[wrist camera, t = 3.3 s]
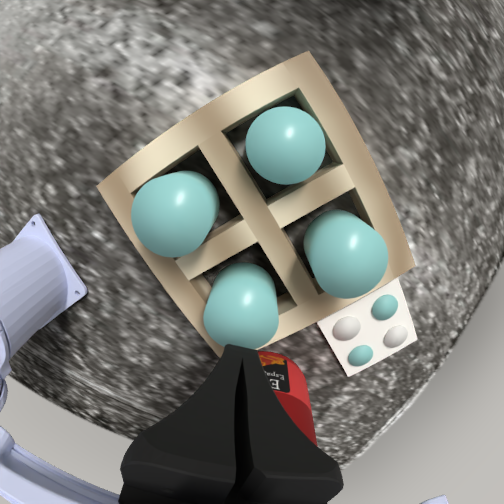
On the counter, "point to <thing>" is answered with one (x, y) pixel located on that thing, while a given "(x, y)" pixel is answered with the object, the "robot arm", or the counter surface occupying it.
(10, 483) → the robot arm
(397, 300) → the tile
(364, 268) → the button
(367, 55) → the counter surface
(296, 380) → the canned food
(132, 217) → the button
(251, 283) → the button
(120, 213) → the wooden compartment tray
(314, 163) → the button
